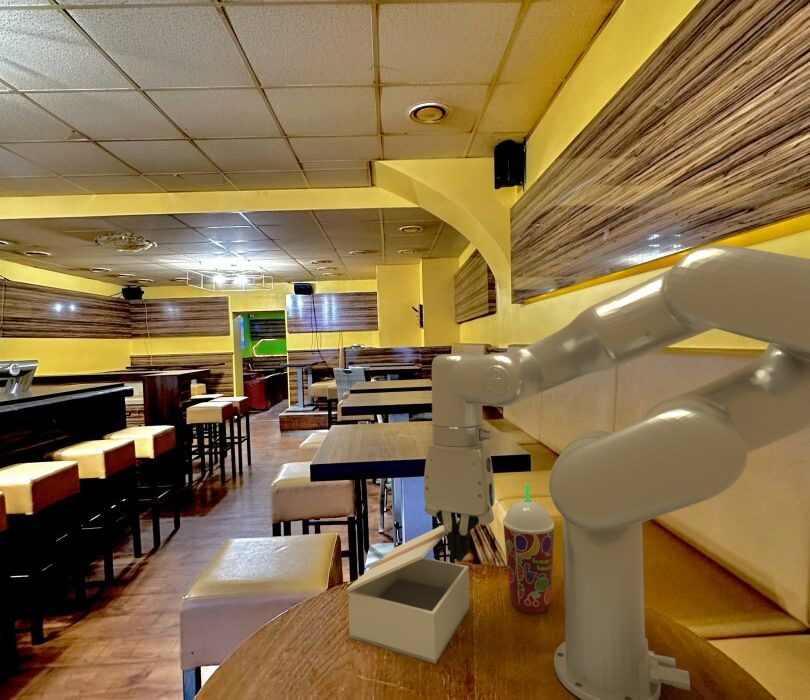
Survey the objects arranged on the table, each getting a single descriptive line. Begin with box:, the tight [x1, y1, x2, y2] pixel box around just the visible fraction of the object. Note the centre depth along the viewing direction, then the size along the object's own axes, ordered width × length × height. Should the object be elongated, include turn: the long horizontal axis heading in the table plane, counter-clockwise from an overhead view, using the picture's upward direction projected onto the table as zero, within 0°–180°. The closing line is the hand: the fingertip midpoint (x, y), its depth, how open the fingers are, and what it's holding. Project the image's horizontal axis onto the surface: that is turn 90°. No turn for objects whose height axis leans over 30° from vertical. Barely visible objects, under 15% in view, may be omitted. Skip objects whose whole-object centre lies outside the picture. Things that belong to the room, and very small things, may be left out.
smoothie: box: [502, 483, 555, 614], centre depth 75 cm, size 8×8×20 cm
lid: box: [346, 517, 461, 593], centre depth 72 cm, size 14×16×1 cm
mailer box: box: [347, 556, 471, 664], centre depth 71 cm, size 14×15×7 cm
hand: (458, 556), depth 68 cm, fingers closed
